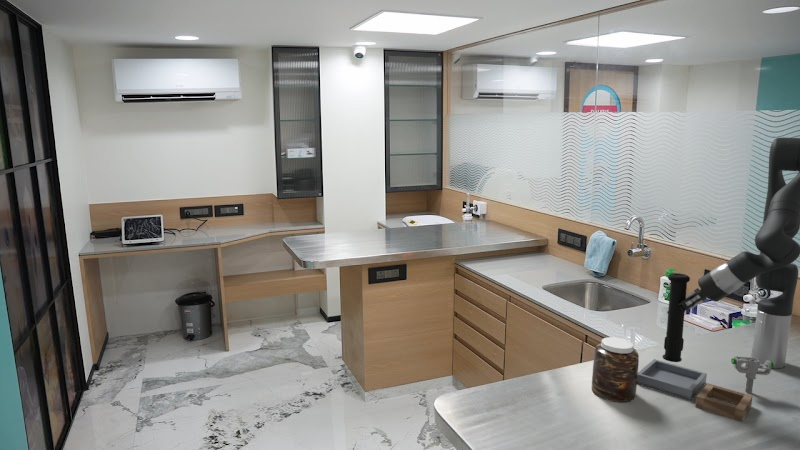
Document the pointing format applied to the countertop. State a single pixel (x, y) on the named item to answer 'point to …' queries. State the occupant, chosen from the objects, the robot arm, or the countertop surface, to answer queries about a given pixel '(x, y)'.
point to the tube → (675, 317)
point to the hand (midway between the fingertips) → (670, 314)
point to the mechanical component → (751, 369)
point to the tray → (671, 379)
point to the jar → (615, 370)
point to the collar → (723, 408)
